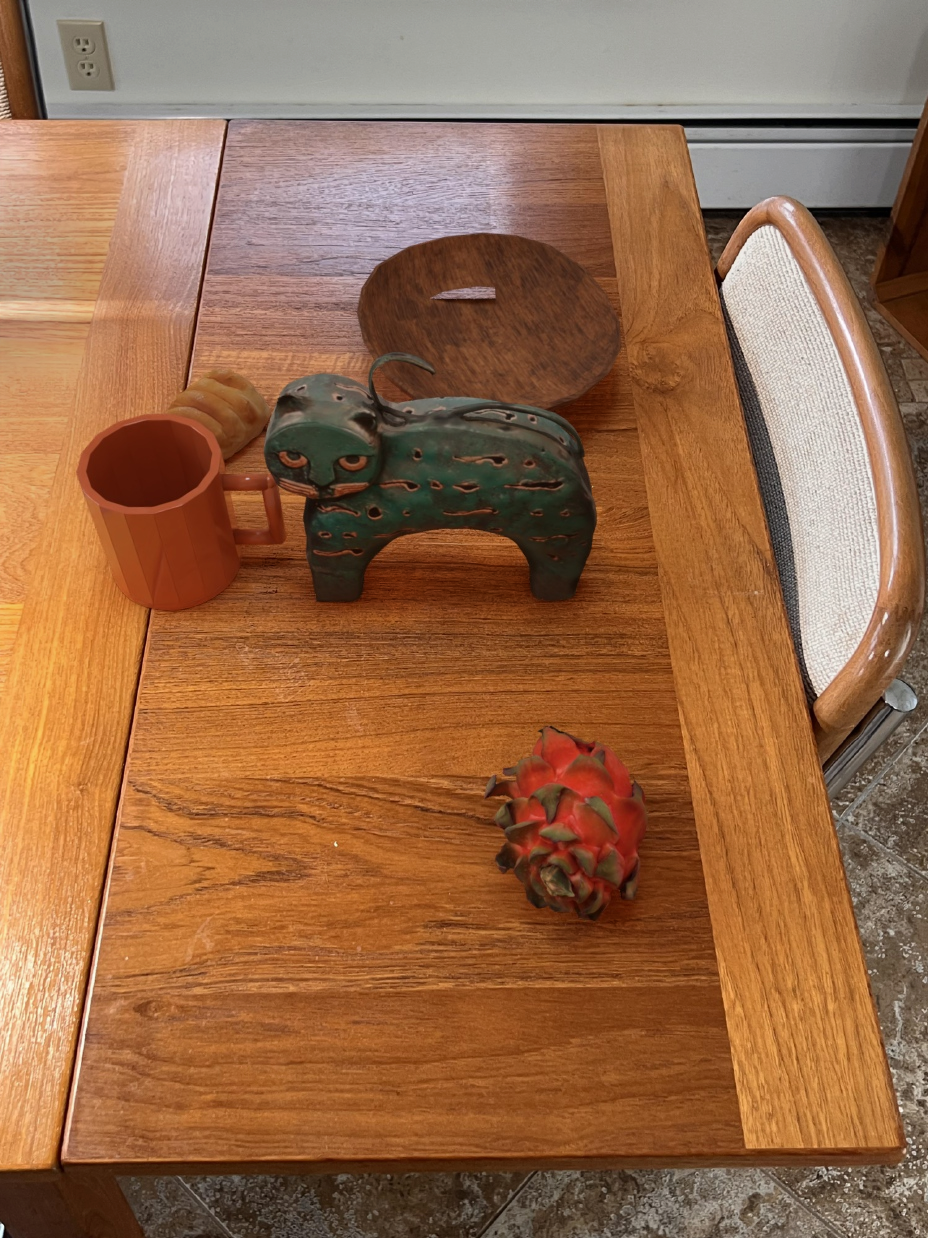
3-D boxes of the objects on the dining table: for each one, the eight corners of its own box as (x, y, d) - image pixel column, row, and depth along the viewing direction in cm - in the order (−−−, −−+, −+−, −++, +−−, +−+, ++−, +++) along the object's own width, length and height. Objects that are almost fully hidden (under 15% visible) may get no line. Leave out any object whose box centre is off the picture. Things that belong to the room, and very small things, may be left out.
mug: (102, 611, 77) (65, 514, 69) (123, 513, 82) (90, 413, 74) (285, 609, 77) (268, 512, 69) (294, 512, 82) (279, 412, 75)
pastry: (203, 496, 83) (193, 458, 80) (130, 462, 85) (118, 424, 82) (279, 419, 88) (273, 380, 85) (209, 389, 90) (200, 350, 87)
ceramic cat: (288, 615, 77) (247, 384, 61) (298, 542, 81) (261, 307, 65) (587, 619, 77) (623, 390, 61) (581, 546, 81) (615, 312, 65)
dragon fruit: (564, 973, 64) (538, 797, 72) (700, 916, 61) (655, 740, 69) (474, 912, 59) (458, 731, 67) (617, 846, 55) (580, 665, 64)
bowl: (407, 488, 84) (405, 438, 80) (332, 307, 96) (327, 255, 92) (655, 431, 88) (665, 380, 84) (552, 264, 100) (556, 213, 96)
